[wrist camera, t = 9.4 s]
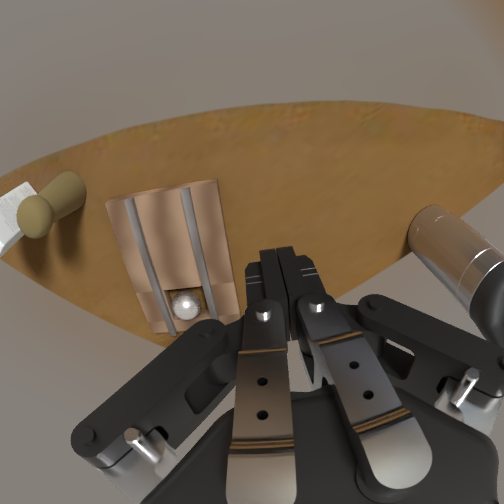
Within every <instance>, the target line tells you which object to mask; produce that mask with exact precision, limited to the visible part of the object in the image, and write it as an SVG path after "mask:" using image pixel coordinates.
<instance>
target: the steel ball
mask: <svg viewBox="0 0 504 504" xmlns="http://www.w3.org/2000/svg"><path fill="white" fill-rule="evenodd" d="M172 309H173V312H174V314H175V315H176V316H177V317H178V318H180V319H183V320H191V319H193V318H195V317H196V316H197V315H198V314H199V312H200V310H201V302H200V299H199V298H198V296H197V295H196V294H194V293H193V292H190V291H183V292H180V293H178V294H177V295H176V296H175V297H174V299H173V302H172Z"/></svg>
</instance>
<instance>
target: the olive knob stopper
mask: <svg viewBox="0 0 504 504" xmlns="http://www.w3.org/2000/svg"><path fill="white" fill-rule="evenodd" d="M85 199H86V187H85V184H84V182H83V180H82V179H81V177H80V176H79V175H78V174H76V173H74V172H71V171H65V172H62V173H61V174H59V175H58V176H57V177H56V178H55V179H53V180H52V181H51V182H50V183H49V184H48V185H47V186H46V187H45V188H44V189H43V190H41V191H40V192H39V193H38V194H37V195H31V196H28V197H26V198H25V199H24V200H22V202H21V203H20V205H19V206H18V209H17V214H16V218H17V223H18V226H19V228H20V230H21V231H22V233H23V234H24V235H26V236H27V237H29V238H33V239H37V238H41V237H43V236H44V235H46V234H47V233H48V231H49V230H50V229H51V227H52V224H53V223H54V222H56V221H57V220H59V219H61V218H63V217H64V216H66V215H68V214H70V213H72V212H74V211H75V210H77V209H79V208H81V206H82V205H83V204H84V202H85Z"/></svg>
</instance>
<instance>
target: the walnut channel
mask: <svg viewBox="0 0 504 504" xmlns="http://www.w3.org/2000/svg"><path fill="white" fill-rule="evenodd" d="M105 205H106V208H107V211H108V215H109V218H110V221H111V224H112V228H113V231H114V234H115V237H116V240H117V243H118V246H119V249H120V252H121V254H122V257H123V260H124V263H125V266H126V268H127V271H128V274H129V276H130V279H131V282H132V284H133V287H134V289H135V292H136V294H137V297H138V299H139V302H140V304H141V306H142V309H143V311H144V314H145V316H146V318H147V320H148V323H149V325H150V327H151V329H152V332H153V333H163V332H169V334H170V336H176V335H177V331H187V330H188V329H189V328H190V327H191V326H192V325H193V324H195V323H196V322H198V321H201V320H204V319H216V320H219V321H221V322H222V323H223V324H224V325H227V324H230V323H232V322H235V321H237V320H238V319H240V318H241V312H240V307H239V301H238V296H237V291H236V285H235V279H234V274H233V268H232V263H231V257H230V251H229V245H228V240H227V234H226V228H225V222H224V216H223V210H222V204H221V198H220V192H219V185H218V179H211V180H204V181H198V182H192V183H186V184H180V185H174V186H169V187H163V188H158V189H153V190H148V191H143V192H138V193H133V194H128V195H124V196H119V197H115V198H111V199H109V200H108V201H107V202H106V203H105ZM198 286H203V290H204V294H205V298H206V302H207V305H208V309H203V310H200V312H199V314H198V315H197V316H196V317H195V318H193V319H191V320H183V319H180V318H178V317H177V316H176V315H175V314H174V312H173V309H172V300H171V297H170V294H169V291H168V290H172V289H181V288H190V287H198Z"/></svg>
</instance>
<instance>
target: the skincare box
mask: <svg viewBox="0 0 504 504" xmlns="http://www.w3.org/2000/svg"><path fill="white" fill-rule="evenodd" d="M31 195H37V193H36V192H35V191H34V190H33V188H32V187H31V186H30V184H29V183H28V182H25V183H23V184H22V185H20V186H18V187H17V188H15V189H13V190H12V191H10V192H9V193H7V194H5V195H4V196H2V197H1V198H0V258H1V257H2V256H3V255H4V254H5V253H6V252H7V251H8V250H9V249H10V248H11V247H12V246H13V245H14V244H15V243H16V242H17V241H18V240H19V239H20V238H21V237H22V236H23V235H24V234H23V233H22V231H21V230H20V228H19V226H18V223H17V218H16V214H17V209H18V206H19V205H20V203H21V202H22V200H24V199H25V198H26V197H28V196H31Z"/></svg>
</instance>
